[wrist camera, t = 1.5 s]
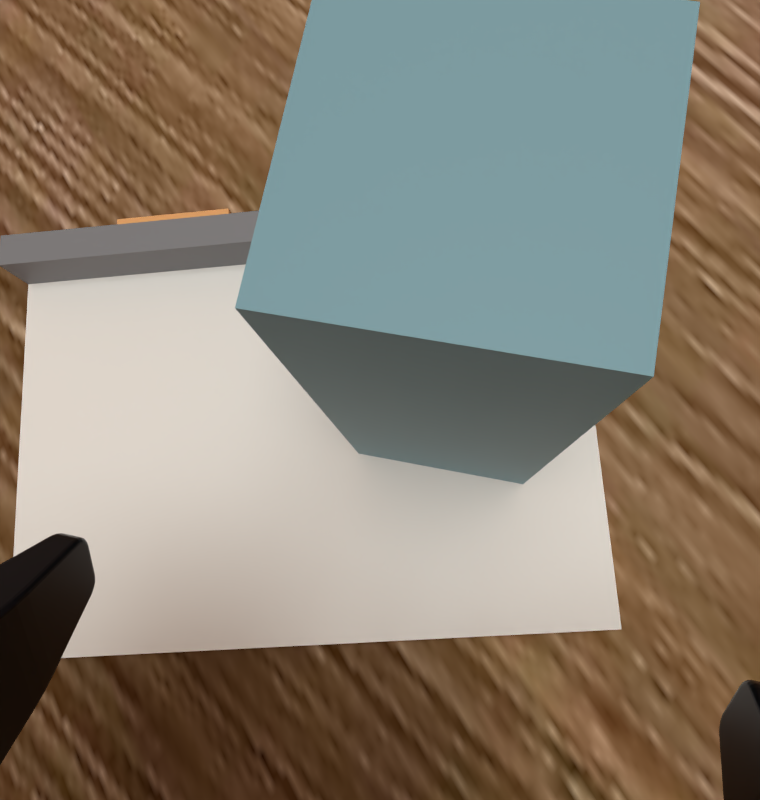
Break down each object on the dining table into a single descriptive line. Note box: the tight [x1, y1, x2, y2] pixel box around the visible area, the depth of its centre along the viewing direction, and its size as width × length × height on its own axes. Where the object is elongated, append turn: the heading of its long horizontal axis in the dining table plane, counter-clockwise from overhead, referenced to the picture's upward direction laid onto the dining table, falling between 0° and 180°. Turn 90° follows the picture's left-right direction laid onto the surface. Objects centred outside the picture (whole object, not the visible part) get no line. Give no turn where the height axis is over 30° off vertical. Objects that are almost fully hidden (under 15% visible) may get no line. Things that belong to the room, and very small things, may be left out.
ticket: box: [117, 209, 231, 224], centre depth 23 cm, size 1×4×2 cm, turn 92°
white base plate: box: [0, 211, 622, 658], centre depth 21 cm, size 13×18×3 cm
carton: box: [235, 0, 700, 484], centre depth 15 cm, size 5×5×13 cm
